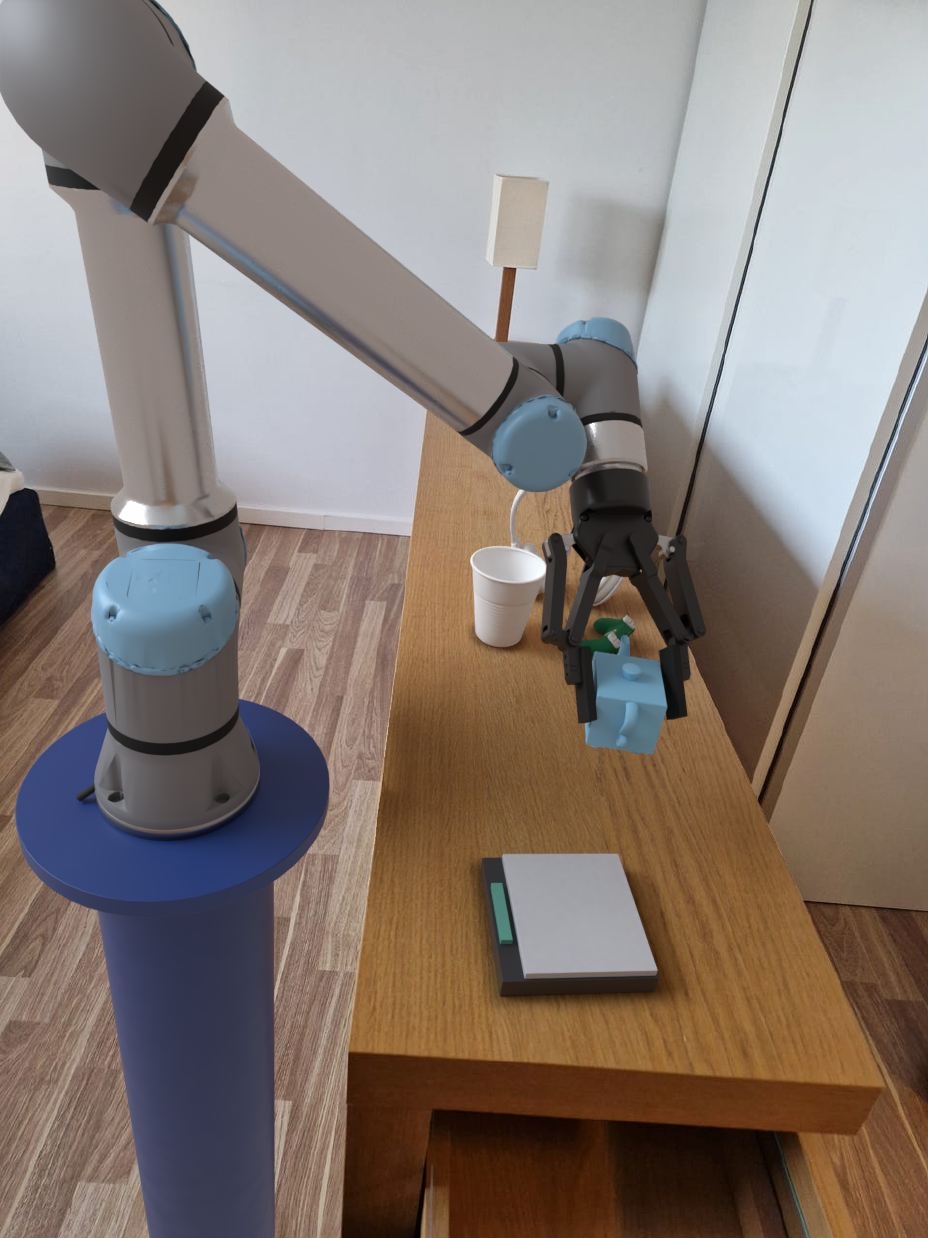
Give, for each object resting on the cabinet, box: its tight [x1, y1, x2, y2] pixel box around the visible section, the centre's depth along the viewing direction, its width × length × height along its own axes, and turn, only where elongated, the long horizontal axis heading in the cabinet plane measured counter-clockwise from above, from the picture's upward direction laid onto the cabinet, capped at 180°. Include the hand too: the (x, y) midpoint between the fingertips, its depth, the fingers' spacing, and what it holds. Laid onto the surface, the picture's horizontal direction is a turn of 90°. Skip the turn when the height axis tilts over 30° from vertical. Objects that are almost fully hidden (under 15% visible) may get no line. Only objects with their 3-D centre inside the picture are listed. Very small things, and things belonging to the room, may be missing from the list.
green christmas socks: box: [580, 614, 636, 658], centre depth 116 cm, size 9×4×6 cm
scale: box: [479, 853, 660, 997], centre depth 76 cm, size 13×13×2 cm
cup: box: [470, 545, 546, 648], centre depth 113 cm, size 10×10×11 cm
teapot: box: [584, 635, 667, 756], centre depth 80 cm, size 12×6×8 cm, turn 175°
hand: (632, 719), depth 78 cm, fingers closed on teapot, 8 cm apart
